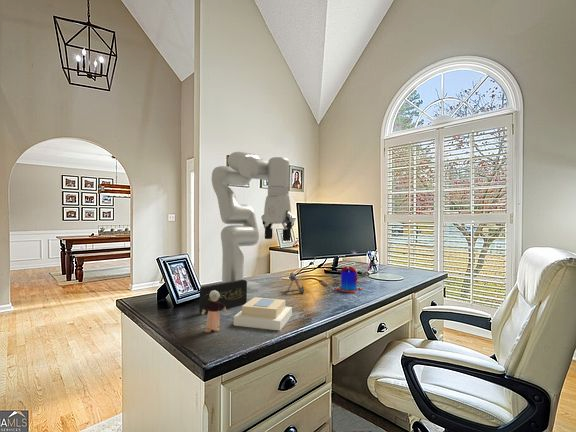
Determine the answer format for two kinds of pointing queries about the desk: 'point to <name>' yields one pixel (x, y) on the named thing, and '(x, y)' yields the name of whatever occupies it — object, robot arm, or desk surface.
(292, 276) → the portable electronic device stand
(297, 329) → the desk surface
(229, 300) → the nameplate
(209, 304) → the grandmother figurine
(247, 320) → the plinth
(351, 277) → the fantasy tower
